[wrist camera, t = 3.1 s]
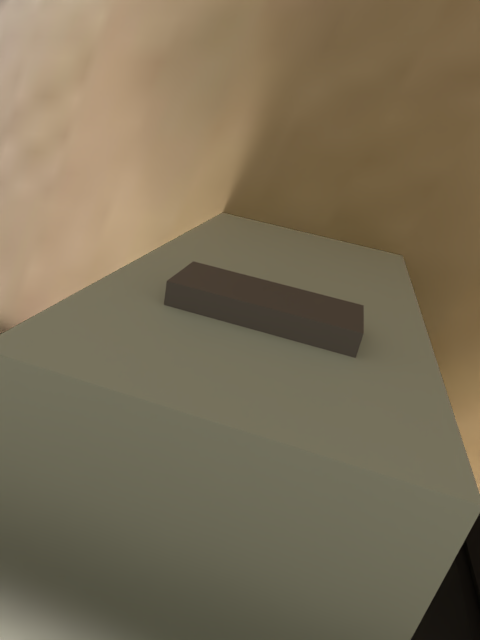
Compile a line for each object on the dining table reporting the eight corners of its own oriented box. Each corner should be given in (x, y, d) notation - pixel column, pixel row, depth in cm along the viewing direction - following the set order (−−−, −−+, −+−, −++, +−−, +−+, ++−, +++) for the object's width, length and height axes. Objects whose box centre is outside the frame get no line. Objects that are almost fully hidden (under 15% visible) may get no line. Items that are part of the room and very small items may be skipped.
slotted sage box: (406, 241, 13) (501, 474, 4) (316, 506, 17) (266, 904, 8) (225, 199, 14) (-26, 315, 5) (181, 461, 18) (2, 780, 9)
